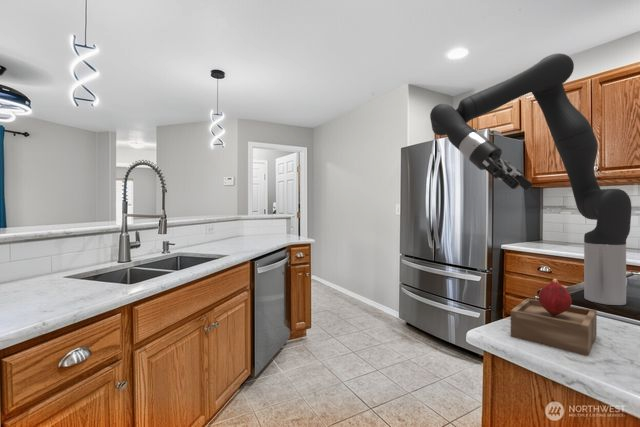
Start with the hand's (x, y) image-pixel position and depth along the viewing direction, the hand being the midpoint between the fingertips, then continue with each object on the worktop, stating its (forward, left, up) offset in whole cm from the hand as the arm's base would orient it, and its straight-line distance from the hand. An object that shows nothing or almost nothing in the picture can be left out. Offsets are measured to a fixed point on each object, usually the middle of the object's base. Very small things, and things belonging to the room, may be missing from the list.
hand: (523, 187), depth 82 cm
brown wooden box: (+11, +10, -34) cm, 37 cm away
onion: (+11, +10, -29) cm, 33 cm away
